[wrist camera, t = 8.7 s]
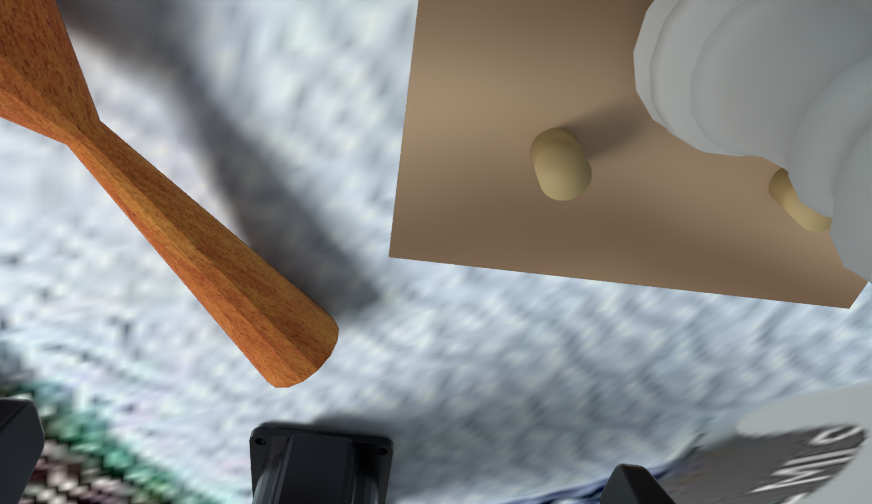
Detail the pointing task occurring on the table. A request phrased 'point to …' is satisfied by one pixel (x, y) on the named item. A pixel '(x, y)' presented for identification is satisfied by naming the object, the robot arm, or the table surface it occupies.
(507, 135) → the peg board
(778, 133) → the rook chess piece
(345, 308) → the table surface
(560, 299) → the table surface
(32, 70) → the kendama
